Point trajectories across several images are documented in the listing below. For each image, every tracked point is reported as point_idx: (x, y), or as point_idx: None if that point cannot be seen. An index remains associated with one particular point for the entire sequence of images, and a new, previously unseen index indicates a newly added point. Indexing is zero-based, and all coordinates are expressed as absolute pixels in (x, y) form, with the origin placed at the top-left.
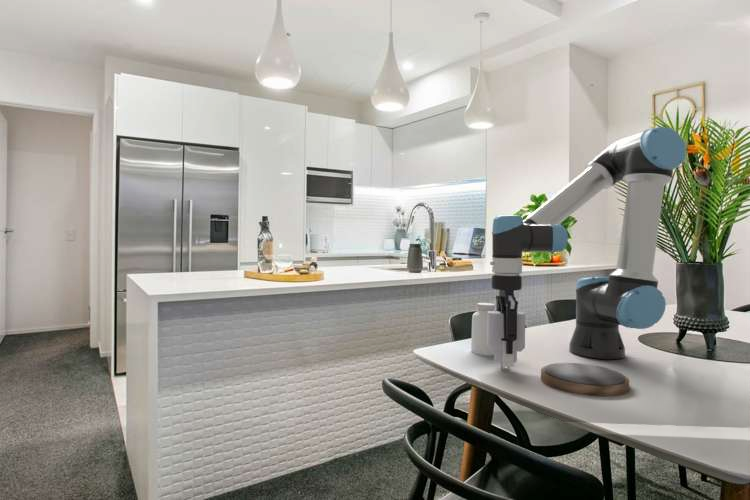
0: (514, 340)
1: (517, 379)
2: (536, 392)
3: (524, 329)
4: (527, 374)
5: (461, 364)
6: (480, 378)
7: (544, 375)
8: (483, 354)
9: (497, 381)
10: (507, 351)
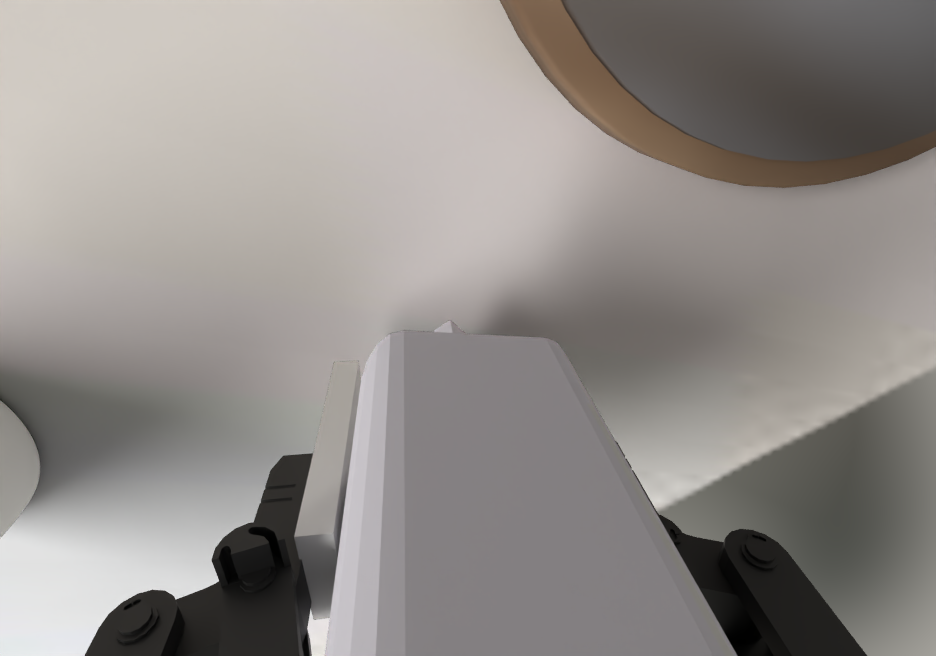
0: (666, 521)
1: (667, 328)
2: (915, 277)
3: (665, 531)
4: (555, 236)
5: None
6: None
7: (808, 182)
8: (39, 466)
9: (690, 434)
10: None
